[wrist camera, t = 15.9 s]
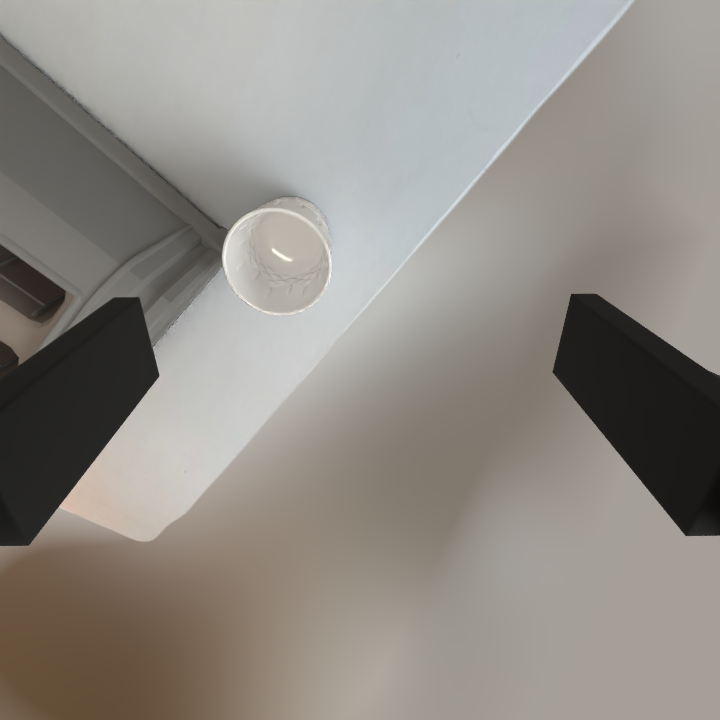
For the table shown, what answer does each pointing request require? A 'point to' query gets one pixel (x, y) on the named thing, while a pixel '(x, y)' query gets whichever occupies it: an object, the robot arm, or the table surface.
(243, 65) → the table surface
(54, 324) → the toaster
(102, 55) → the table surface
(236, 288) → the white cup
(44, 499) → the robot arm
